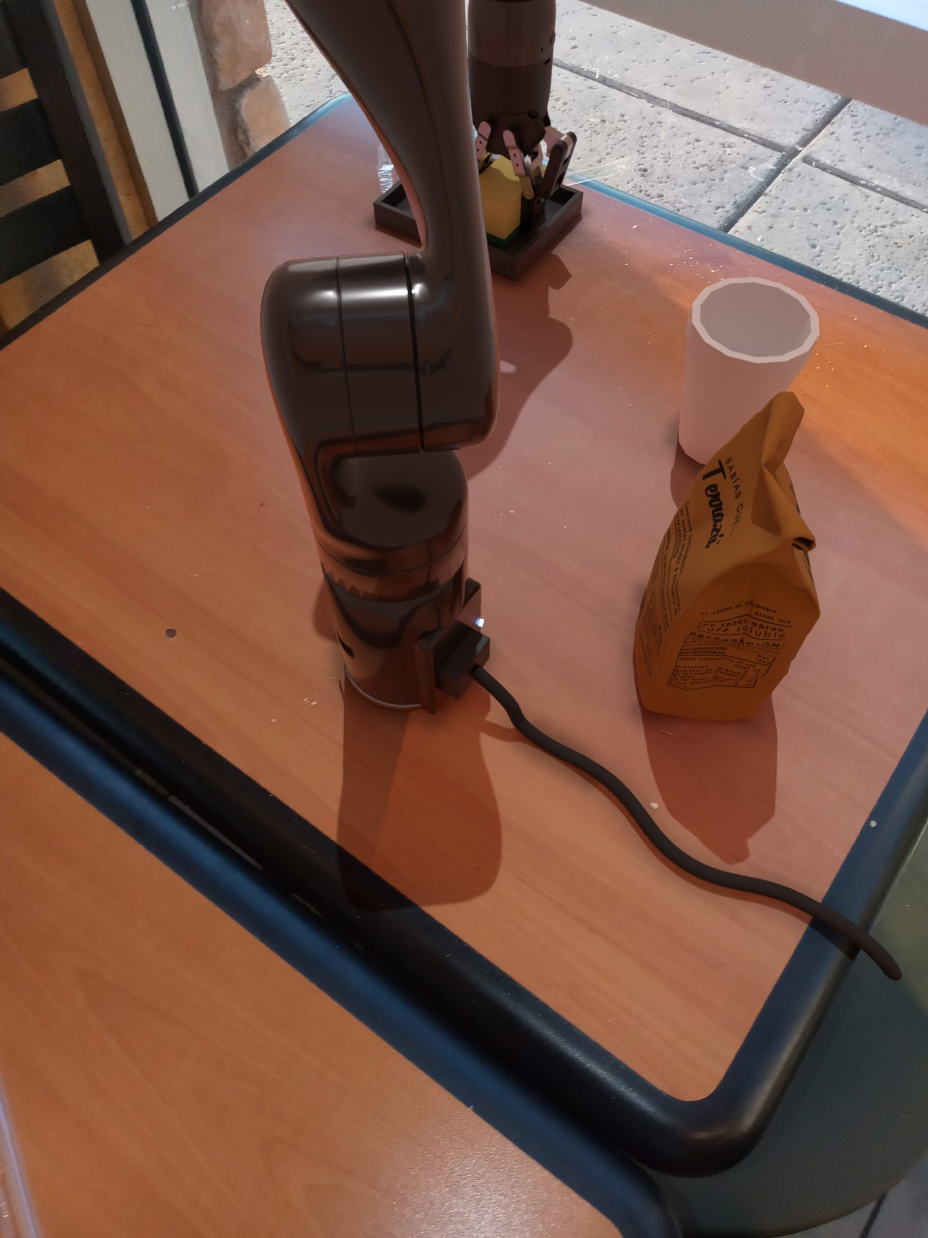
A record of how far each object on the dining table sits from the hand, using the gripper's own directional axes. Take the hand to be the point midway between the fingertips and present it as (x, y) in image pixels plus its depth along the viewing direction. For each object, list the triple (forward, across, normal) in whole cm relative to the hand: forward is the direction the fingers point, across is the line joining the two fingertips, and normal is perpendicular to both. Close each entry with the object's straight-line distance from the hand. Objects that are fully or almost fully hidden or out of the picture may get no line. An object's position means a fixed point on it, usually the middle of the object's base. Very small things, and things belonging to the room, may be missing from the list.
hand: (504, 215), depth 93 cm
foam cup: (+1, +31, -15) cm, 34 cm away
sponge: (0, 0, 0) cm, 0 cm away
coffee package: (+1, +39, -35) cm, 52 cm away
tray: (+1, -3, 0) cm, 3 cm away
